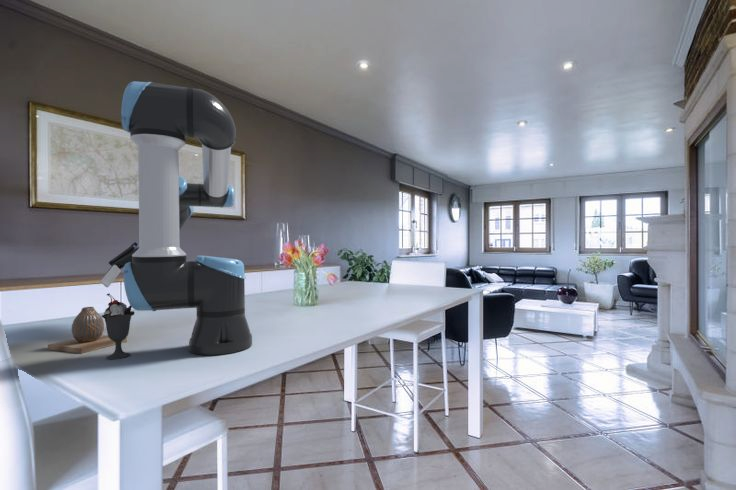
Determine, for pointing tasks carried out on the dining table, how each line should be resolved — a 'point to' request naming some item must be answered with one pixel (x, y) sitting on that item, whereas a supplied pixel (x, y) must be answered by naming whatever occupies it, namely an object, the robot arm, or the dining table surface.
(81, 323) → the vase
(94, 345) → the walnut board
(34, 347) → the dining table surface
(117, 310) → the sundae
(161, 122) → the robot arm
